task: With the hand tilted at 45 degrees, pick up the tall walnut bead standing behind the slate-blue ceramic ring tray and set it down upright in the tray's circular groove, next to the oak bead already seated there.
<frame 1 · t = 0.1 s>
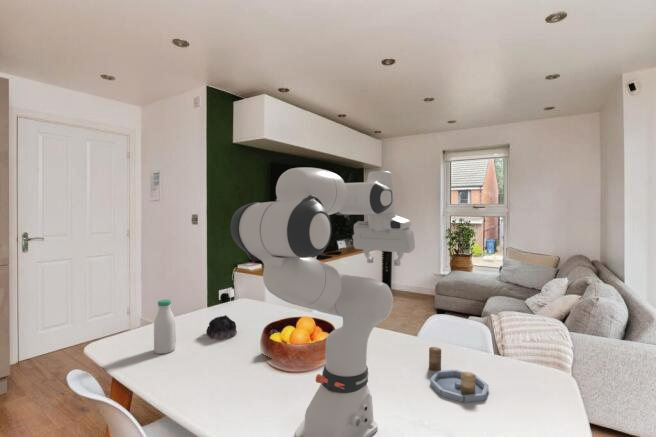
hand: (383, 264, 111), 39 cm above the table, tool pointing down, fingers open, 8 cm apart
milk bottle: (165, 351, 137), on the table
black rock: (222, 335, 154), on the table
vase: (273, 353, 135), on the table
ring tray: (458, 391, 107), on the table
walnut bead: (434, 371, 120), on the table
oak bead: (468, 394, 103), point 1 cm above the table, touching ring tray
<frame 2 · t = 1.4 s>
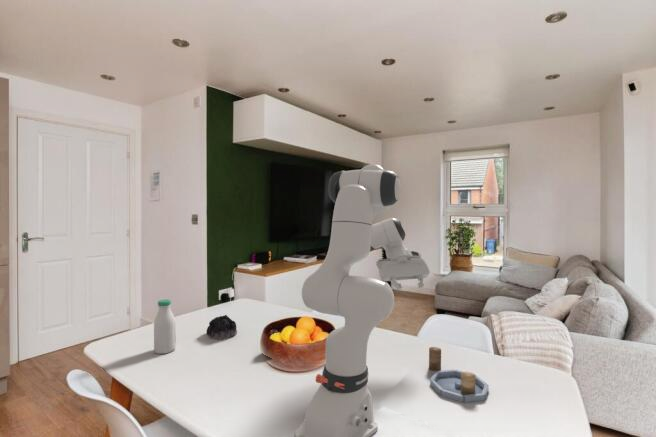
hand: (410, 288, 131), 27 cm above the table, tool tilted 45°, fingers open, 8 cm apart
nothing on the table moved.
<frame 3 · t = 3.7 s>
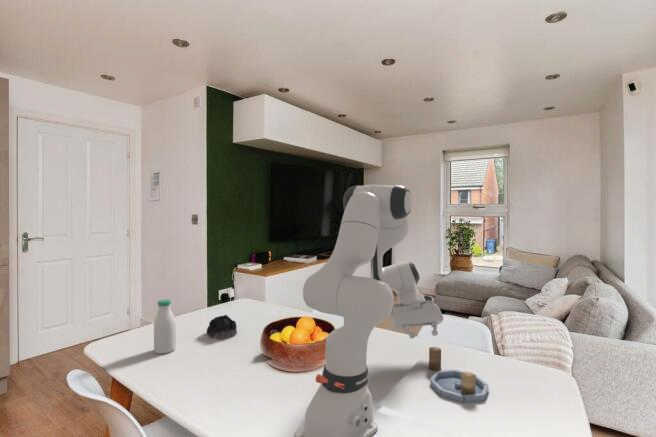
hand: (424, 336, 126), 10 cm above the table, tool tilted 45°, fingers open, 8 cm apart
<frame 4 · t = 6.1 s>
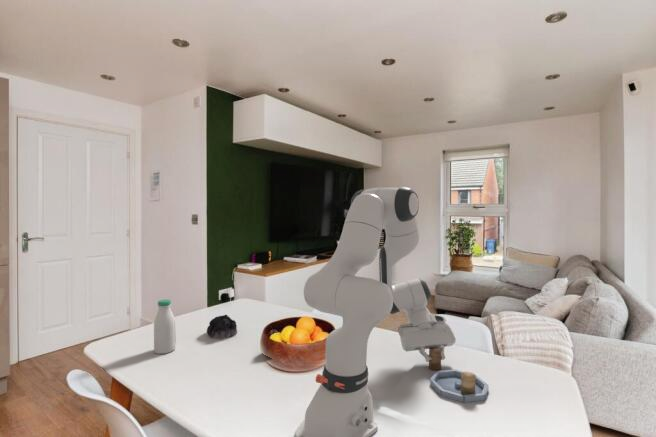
hand: (436, 360, 119), 4 cm above the table, tool tilted 45°, fingers closed on walnut bead, 4 cm apart
walnut bead: (434, 371, 120), on the table, touching gripper
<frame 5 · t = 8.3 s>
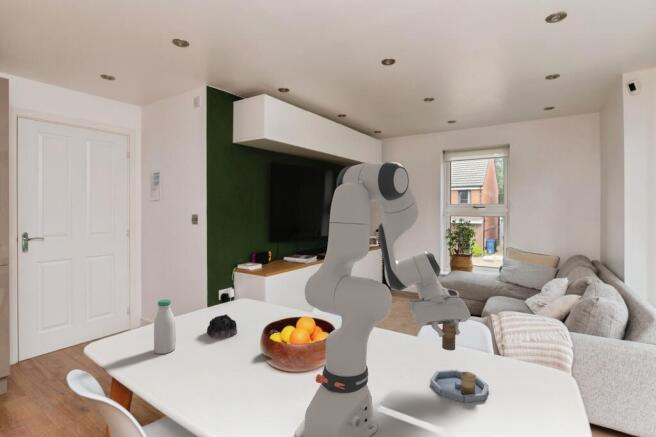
hand: (450, 335, 111), 16 cm above the table, tool tilted 45°, fingers closed on walnut bead, 4 cm apart
walnut bead: (448, 347, 112), point 12 cm above the table, touching gripper
when the fingers open (7 cm above the table, at t = 10.6 s): walnut bead drops 1 cm, resting on ring tray.
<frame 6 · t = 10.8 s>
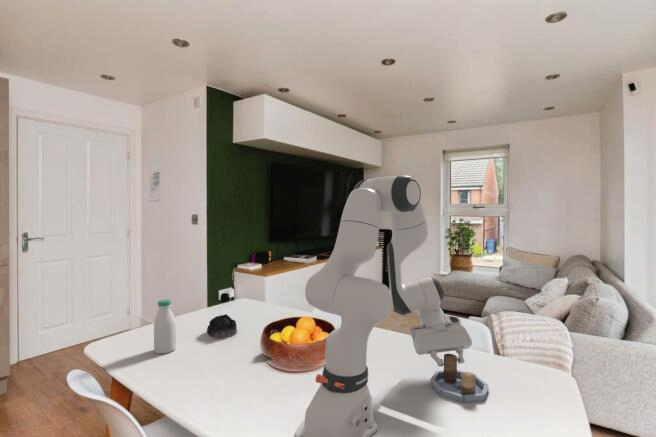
hand: (451, 364, 111), 7 cm above the table, tool tilted 45°, fingers open, 6 cm apart
walnut bead: (450, 380, 111), point 1 cm above the table, touching ring tray
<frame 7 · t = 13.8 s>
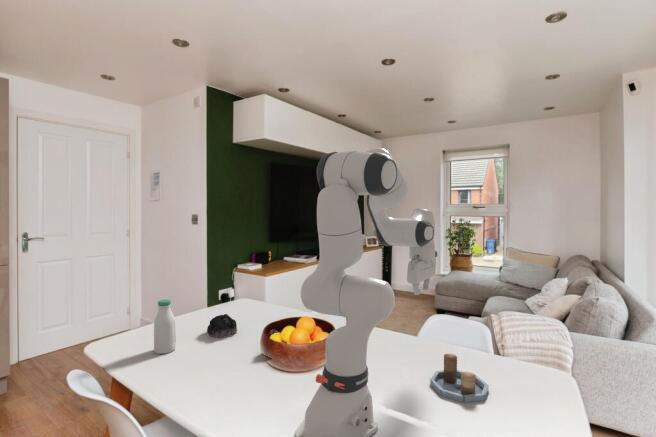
hand: (421, 291, 124), 27 cm above the table, tool pointing down, fingers open, 8 cm apart
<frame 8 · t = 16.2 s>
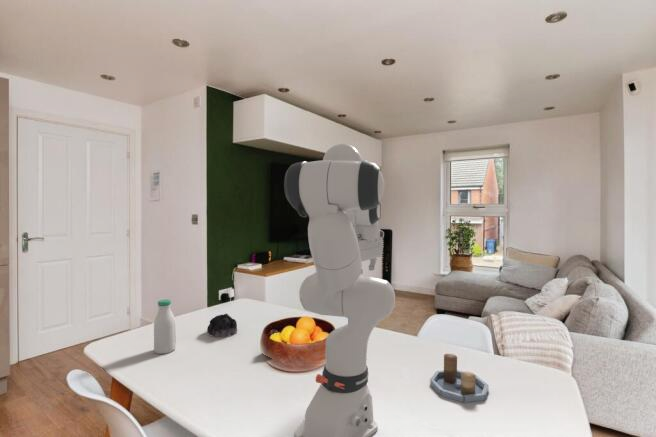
hand: (365, 272, 123), 34 cm above the table, tool pointing down, fingers open, 8 cm apart
at the end: walnut bead 4.3 cm from the ring tray (horizontally); walnut bead point 1.2 cm above the table; walnut bead tilted 0° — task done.
